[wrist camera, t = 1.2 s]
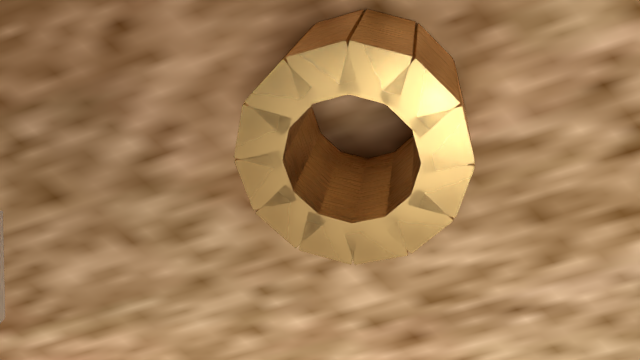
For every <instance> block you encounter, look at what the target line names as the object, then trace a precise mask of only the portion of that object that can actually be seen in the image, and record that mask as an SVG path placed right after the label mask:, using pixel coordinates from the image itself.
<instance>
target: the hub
mask: <svg viewBox="0 0 640 360" xmlns="http://www.w3.org/2000/svg"><path fill="white" fill-rule="evenodd" d="M348 94H350V95H353V96H357V97H361V98H365V99H369V100H372V101H376V102H380V103H384V104H386V105H387V106H388V107H389V108H390V109H391V110H392V111H393V112H394V113H396V114H397V115H398V116H399V117H400V118H401V119H402V120H403V121H404V122H405V123H406V124H407V125H408V126H409V127H410V128H411V129H412V130H413V134H414V135H413V136H412V137H411V138H410V139H408V140H407V141H406V142H405V143H404V144H403V145H402V146H401V147H399V148H398V149H397V150H396V151H395V152H394V153H390V154H385V155H381V156H376V157H372V158H368V159H366V158H363V157H359V156H355V155H351V154H348V153H344V152H340V151H339V150H338V149H337V148H336V147H335V146H334V145H333V144H332V143H331V142H329V141H328V140H327V139H326V138H325V137H324V136H323V135H322V134H321V133H320V131H319V128H318V125H317V121H316V118H315V115H314V112H313V109H312V104H313V103H317V102H321V101H325V100H329V99H333V98H337V97H340V96H344V95H348ZM234 158H236V159H235V161H234V162H235V164H236V167H237V170H238V172H239V175H240V177H241V180H242V182H243V185H244V188H245V190H246V193H247V195H248V198H249V200H250V203H251V206H252V208H253V210H257V209H258V210H257V211H256V214H257V215H258V216H259V217H260V218H261V219H263V220H264V221H265V222H266V223H267V224H268V225H269V226H271V227H272V228H273V229H274V230H275V231H276V232H277V233H279V234H280V235H281V236H282V237H283V238H284V239H285V240H287V241H288V242H289V243H290V244H291V245H292V246H294V247H295V248H297V247H298V246H299V245H300V248H299V250H300V251H304V252H307V253H311V254H315V255H318V256H322V257H325V258H329V259H333V260H336V261H340V262H343V263H347V264H351V263H352V260H353V261H354V264H355V265H357V264H362V263H368V262H374V261H379V260H385V259H390V258H396V257H401V256H407V255H408V251H409V252H410V253H411V254H412V253H413V252H414V251H416V250H417V249H418V248H419V247H421V246H422V245H423V244H425V243H426V242H427V241H428V240H430V239H431V238H432V237H433V236H435V235H436V234H437V233H439V232H440V231H441V230H442V229H444V228H445V227H446V226H447V225H449V224H450V223H451V222H453V217H455V218H456V216H457V213H458V210H459V208H460V205H461V202H462V200H463V197H464V194H465V191H466V189H467V186H468V183H469V181H470V178H471V175H472V173H473V170H474V167H475V165H474V163H475V160H474V155H473V149H472V144H471V138H470V133H469V127H468V122H467V117H466V111H465V106H464V102H463V97H462V93H461V88H460V84H459V79H458V75H457V71H456V66H455V62H454V61H453V58H452V57H451V56H450V55H449V54H448V53H447V52H446V51H445V50H444V49H443V48H442V47H441V46H440V45H439V44H438V43H437V42H436V41H435V40H434V39H433V38H432V37H431V36H430V35H429V34H428V33H427V32H426V31H425V30H424V29H423V27H422V26H421V25H420V24H419V23H418V24H417V25H416V26H415V21H411V20H407V19H403V18H400V17H396V16H392V15H388V14H384V13H380V12H376V11H372V10H368V9H367V10H366V12H365V13H364V9H362V10H359V11H356V12H352V13H349V14H346V15H342V16H339V17H335V18H332V19H329V20H325V21H322V22H318V23H316V24H315V25H313V26H312V27H311V28H310V30H309V31H308V32H307V33H306V34H305V35H304V36H303V37H302V38H301V39H300V41H299V42H298V43H297V44H296V45H295V46H294V47H293V48H292V49H291V50H290V52H289V53H288V54H287V55H286V56H285V57H284V58H283V59H282V60H281V61H280V63H279V64H278V65H277V66H276V67H275V68H274V69H273V70H272V71H271V73H270V74H269V75H268V76H267V77H266V78H265V79H264V80H263V81H262V82H261V84H260V85H259V86H258V87H257V88H256V89H255V90H254V91H253V92H252V93H251V95H250V96H249V97H248V98H247V99H246V100H245V103H244V104H243V106H242V112H241V118H240V124H239V130H238V136H237V141H236V147H235V153H234Z"/></svg>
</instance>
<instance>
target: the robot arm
mask: <svg viewBox="0 0 640 360" xmlns="http://www.w3.org/2000/svg"><path fill="white" fill-rule="evenodd" d="M4 319H5V289H4V245H3V211H0V323H1V322H2V321H3V320H4Z"/></svg>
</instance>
